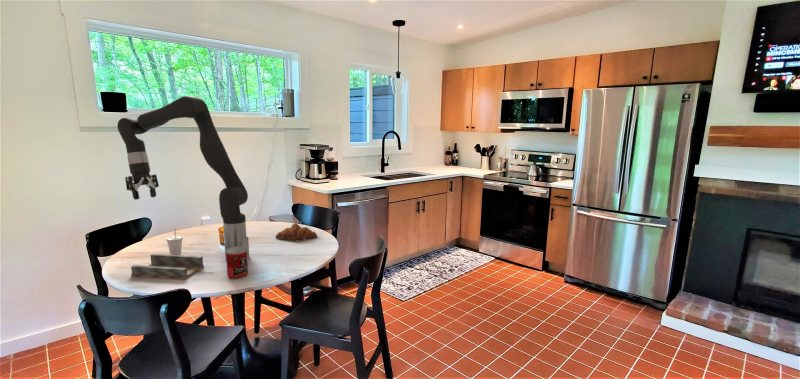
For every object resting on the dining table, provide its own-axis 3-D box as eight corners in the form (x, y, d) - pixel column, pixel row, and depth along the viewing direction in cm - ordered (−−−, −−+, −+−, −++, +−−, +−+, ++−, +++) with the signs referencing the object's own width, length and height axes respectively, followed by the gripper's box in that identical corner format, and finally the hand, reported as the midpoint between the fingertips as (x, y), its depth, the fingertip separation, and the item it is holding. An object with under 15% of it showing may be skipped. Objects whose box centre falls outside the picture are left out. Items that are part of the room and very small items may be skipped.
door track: (204, 267, 159) (203, 256, 158) (184, 279, 146) (183, 267, 145) (154, 264, 160) (153, 253, 159) (131, 276, 147) (129, 264, 147)
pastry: (300, 232, 213) (299, 218, 212) (318, 237, 205) (318, 223, 203) (274, 239, 200) (274, 224, 199) (293, 245, 191) (293, 229, 190)
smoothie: (176, 261, 164) (174, 230, 162) (164, 260, 165) (161, 229, 163) (187, 256, 170) (185, 227, 168) (175, 255, 171) (173, 225, 169)
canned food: (235, 280, 146) (233, 254, 144) (223, 276, 150) (221, 250, 148) (252, 274, 153) (251, 248, 151) (240, 270, 157) (238, 245, 155)
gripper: (130, 162, 160) (138, 199, 161) (158, 161, 174) (165, 195, 175) (117, 164, 162) (124, 201, 163) (145, 163, 176) (152, 197, 177)
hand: (145, 198), depth 169 cm, fingers open, 8 cm apart
